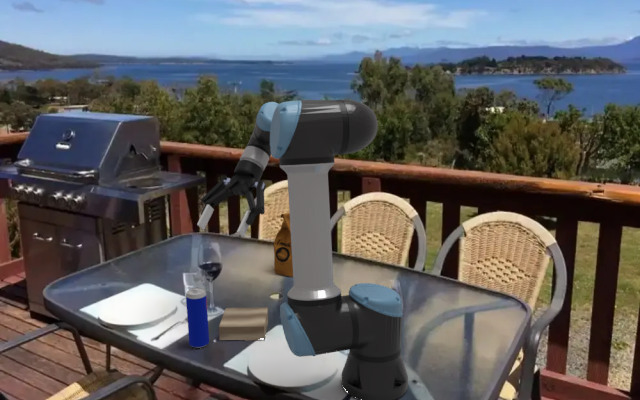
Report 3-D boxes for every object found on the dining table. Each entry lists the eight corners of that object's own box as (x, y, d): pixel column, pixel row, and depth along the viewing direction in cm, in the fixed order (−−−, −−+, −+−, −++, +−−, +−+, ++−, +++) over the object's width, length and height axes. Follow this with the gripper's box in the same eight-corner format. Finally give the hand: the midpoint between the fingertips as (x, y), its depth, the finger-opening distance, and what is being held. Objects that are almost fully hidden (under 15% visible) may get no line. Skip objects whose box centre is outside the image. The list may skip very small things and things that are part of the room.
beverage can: (213, 344, 150) (210, 291, 146) (196, 351, 146) (192, 297, 143) (202, 338, 153) (199, 285, 150) (185, 344, 150) (181, 291, 146)
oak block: (264, 340, 152) (264, 326, 151) (219, 340, 152) (218, 327, 151) (268, 320, 163) (267, 307, 163) (226, 320, 163) (225, 308, 162)
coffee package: (269, 274, 199) (267, 213, 194) (288, 263, 210) (286, 205, 205) (294, 278, 195) (293, 216, 190) (311, 267, 205) (311, 208, 200)
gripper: (293, 177, 158) (264, 244, 149) (223, 169, 170) (191, 230, 161) (283, 162, 153) (251, 230, 144) (210, 154, 165) (177, 217, 156)
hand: (219, 230), depth 152 cm, fingers open, 13 cm apart
